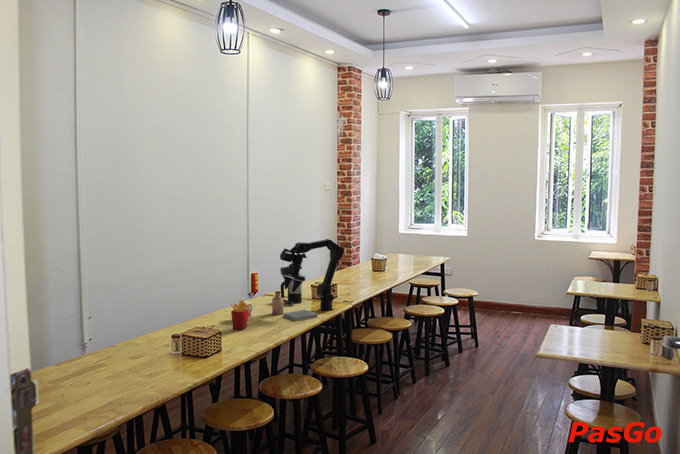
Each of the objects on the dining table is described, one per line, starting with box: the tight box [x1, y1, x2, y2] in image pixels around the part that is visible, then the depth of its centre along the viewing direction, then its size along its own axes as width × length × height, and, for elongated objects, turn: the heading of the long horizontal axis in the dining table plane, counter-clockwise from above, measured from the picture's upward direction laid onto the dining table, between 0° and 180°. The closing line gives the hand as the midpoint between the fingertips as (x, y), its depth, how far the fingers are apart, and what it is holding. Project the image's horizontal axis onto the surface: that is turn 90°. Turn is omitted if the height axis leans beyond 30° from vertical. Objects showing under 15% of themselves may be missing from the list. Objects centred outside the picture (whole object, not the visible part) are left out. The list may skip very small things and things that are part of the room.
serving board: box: [282, 309, 318, 322], centre depth 310 cm, size 15×12×2 cm
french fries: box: [230, 301, 250, 332], centre depth 282 cm, size 9×8×15 cm
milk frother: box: [280, 280, 303, 306], centre depth 344 cm, size 14×16×15 cm
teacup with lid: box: [235, 297, 253, 322], centre depth 303 cm, size 12×9×12 cm
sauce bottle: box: [271, 290, 284, 316], centre depth 316 cm, size 6×6×13 cm
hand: (289, 290), depth 313 cm, fingers open, 9 cm apart
